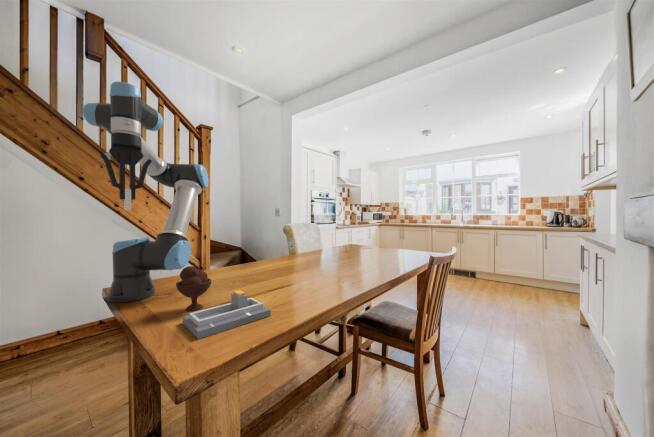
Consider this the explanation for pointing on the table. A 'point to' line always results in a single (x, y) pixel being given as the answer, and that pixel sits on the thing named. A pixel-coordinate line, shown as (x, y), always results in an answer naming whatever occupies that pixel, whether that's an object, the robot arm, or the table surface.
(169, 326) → the table surface
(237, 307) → the fader tab
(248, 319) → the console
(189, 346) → the table surface
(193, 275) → the ice cream bowl
